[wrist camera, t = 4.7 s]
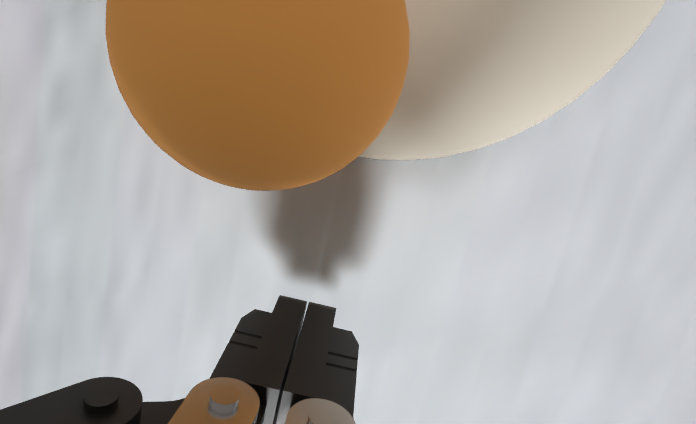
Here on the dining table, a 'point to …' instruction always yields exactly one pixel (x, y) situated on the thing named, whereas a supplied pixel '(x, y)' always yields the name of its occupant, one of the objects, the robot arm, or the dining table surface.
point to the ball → (260, 82)
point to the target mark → (500, 68)
